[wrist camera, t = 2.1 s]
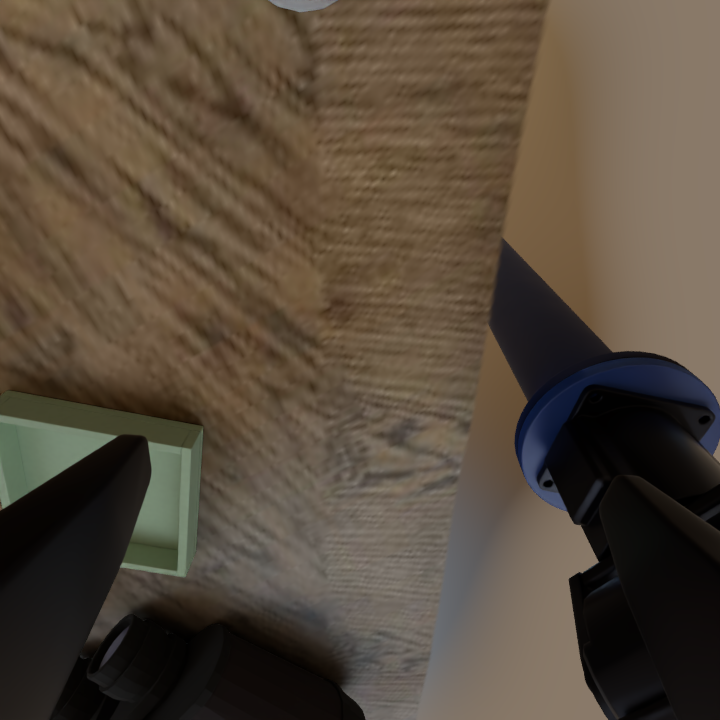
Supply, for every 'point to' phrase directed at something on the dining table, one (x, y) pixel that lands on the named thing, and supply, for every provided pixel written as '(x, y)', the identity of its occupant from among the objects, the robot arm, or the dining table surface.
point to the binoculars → (194, 680)
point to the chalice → (303, 4)
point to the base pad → (85, 435)
